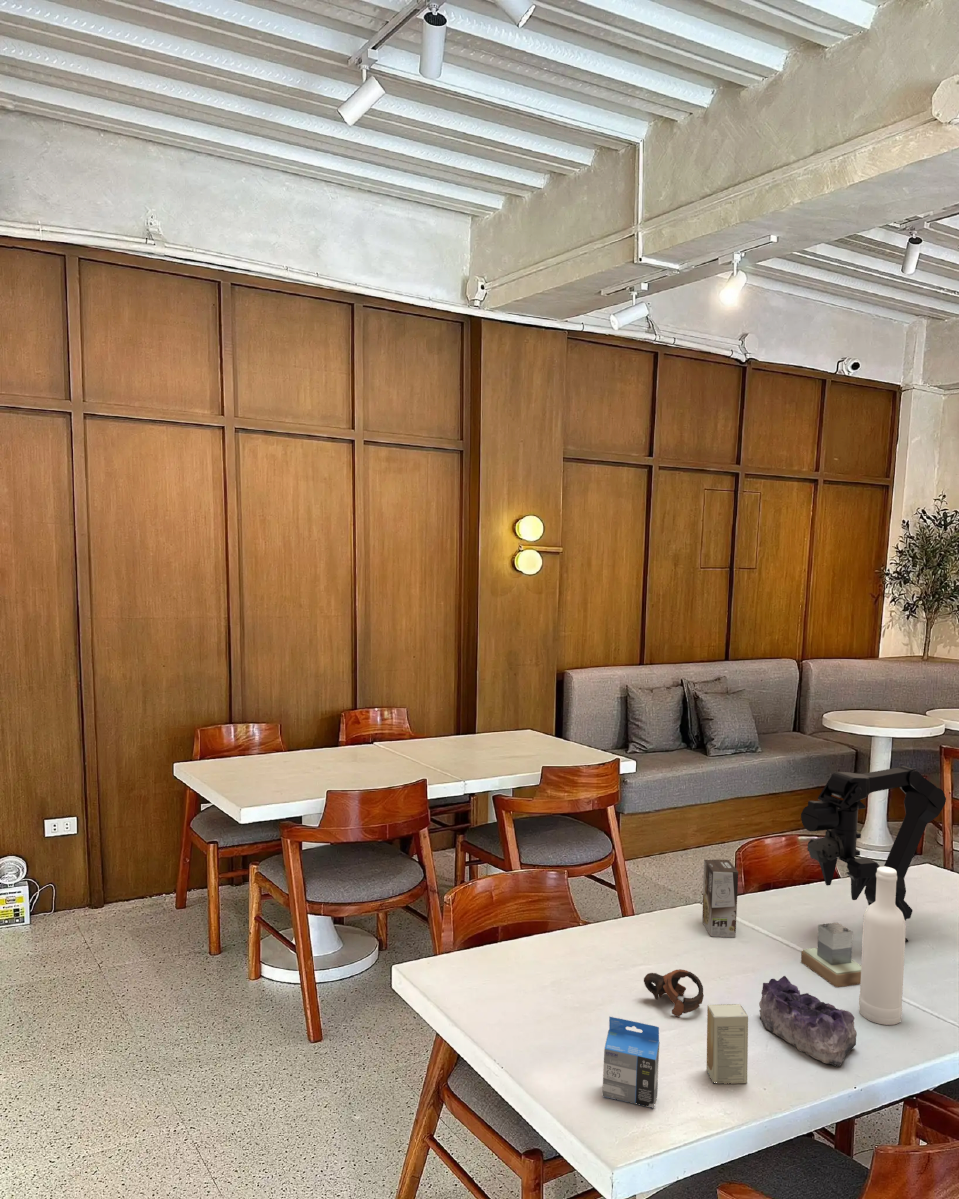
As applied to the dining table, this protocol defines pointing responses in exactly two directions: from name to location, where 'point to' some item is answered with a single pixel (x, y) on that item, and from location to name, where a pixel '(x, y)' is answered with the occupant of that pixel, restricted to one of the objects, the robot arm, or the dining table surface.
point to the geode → (807, 1022)
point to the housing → (834, 943)
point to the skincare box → (727, 1043)
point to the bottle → (883, 954)
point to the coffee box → (720, 898)
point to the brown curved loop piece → (675, 989)
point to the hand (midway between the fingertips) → (840, 892)
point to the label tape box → (631, 1062)
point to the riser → (832, 969)
